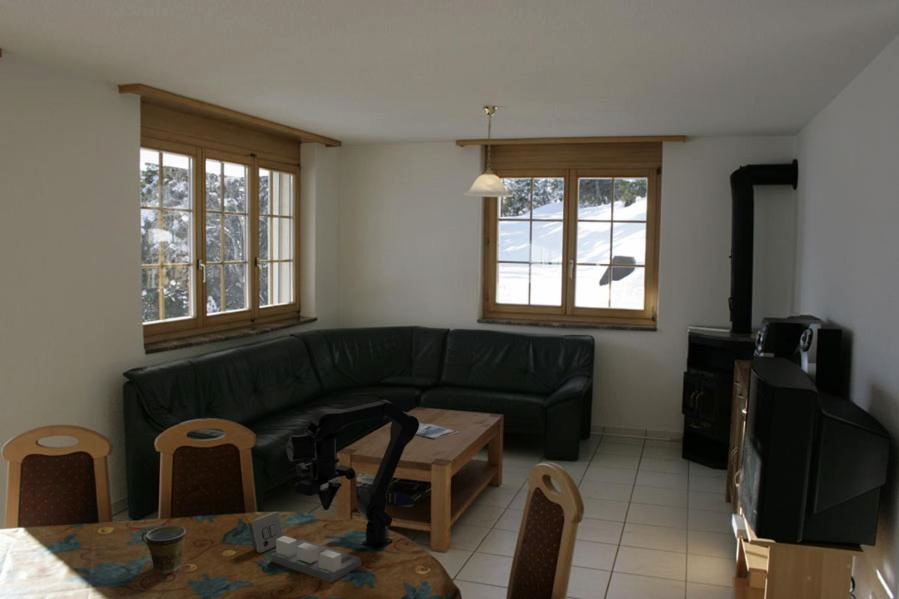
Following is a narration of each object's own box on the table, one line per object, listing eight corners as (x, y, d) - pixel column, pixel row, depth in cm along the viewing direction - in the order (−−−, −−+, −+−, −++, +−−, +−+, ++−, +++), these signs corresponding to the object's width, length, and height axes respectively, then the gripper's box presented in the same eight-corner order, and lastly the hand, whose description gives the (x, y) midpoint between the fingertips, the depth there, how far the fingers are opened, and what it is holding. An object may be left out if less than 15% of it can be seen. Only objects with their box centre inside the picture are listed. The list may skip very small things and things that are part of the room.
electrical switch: (259, 554, 214) (256, 522, 214) (247, 551, 218) (245, 519, 217) (285, 543, 222) (283, 512, 221) (274, 540, 225) (271, 509, 224)
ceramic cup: (194, 563, 208) (193, 528, 207) (170, 579, 199) (168, 542, 198) (155, 556, 213) (154, 521, 212) (129, 572, 203) (128, 535, 202)
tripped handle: (305, 554, 209) (304, 542, 208) (318, 559, 206) (318, 546, 205) (297, 558, 206) (296, 546, 206) (310, 563, 203) (310, 550, 203)
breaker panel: (302, 546, 220) (301, 526, 219) (360, 565, 208) (360, 544, 207) (271, 561, 210) (270, 540, 209) (330, 582, 198) (330, 560, 197)
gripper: (326, 442, 224) (327, 494, 225) (280, 458, 208) (281, 514, 210) (355, 448, 218) (356, 501, 219) (309, 466, 202) (310, 523, 204)
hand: (326, 509), depth 213 cm, fingers closed
